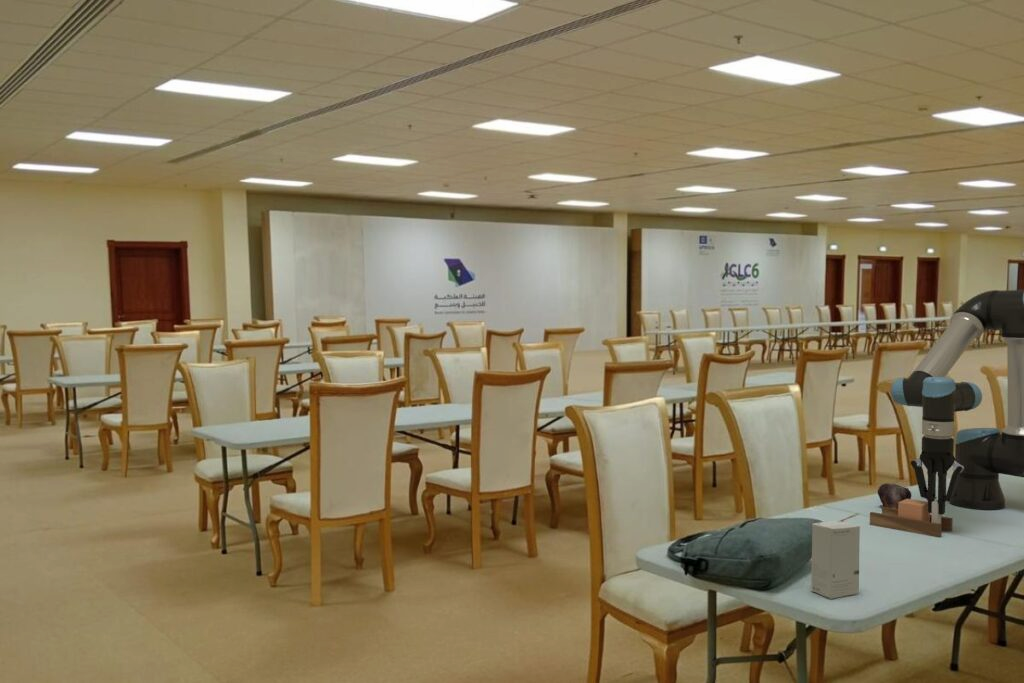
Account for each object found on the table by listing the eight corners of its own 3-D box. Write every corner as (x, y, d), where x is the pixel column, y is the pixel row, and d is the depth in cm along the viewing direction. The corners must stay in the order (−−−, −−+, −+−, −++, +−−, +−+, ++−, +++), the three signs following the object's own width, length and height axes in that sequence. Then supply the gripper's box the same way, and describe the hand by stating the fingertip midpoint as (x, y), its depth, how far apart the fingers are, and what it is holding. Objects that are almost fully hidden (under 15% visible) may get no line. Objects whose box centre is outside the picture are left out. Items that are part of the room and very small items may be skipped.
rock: (915, 515, 253) (879, 509, 259) (918, 486, 254) (882, 481, 260) (907, 517, 244) (870, 511, 250) (910, 487, 244) (872, 481, 250)
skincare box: (830, 600, 179) (831, 529, 178) (809, 591, 184) (810, 522, 184) (860, 594, 182) (861, 524, 181) (839, 585, 188) (840, 518, 187)
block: (906, 524, 234) (907, 498, 233) (929, 528, 229) (930, 502, 229) (897, 528, 230) (898, 502, 229) (921, 532, 225) (921, 506, 225)
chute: (857, 516, 247) (857, 501, 246) (954, 534, 228) (954, 517, 228) (838, 524, 238) (838, 508, 238) (937, 543, 220) (937, 525, 219)
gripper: (906, 435, 226) (905, 524, 227) (959, 441, 217) (958, 533, 218) (917, 432, 232) (915, 519, 233) (969, 437, 222) (967, 527, 224)
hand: (936, 525), depth 225 cm, fingers closed
